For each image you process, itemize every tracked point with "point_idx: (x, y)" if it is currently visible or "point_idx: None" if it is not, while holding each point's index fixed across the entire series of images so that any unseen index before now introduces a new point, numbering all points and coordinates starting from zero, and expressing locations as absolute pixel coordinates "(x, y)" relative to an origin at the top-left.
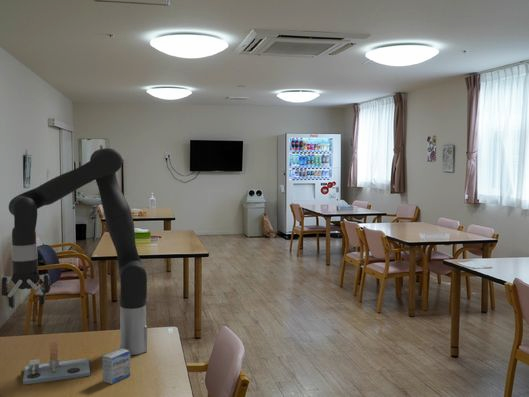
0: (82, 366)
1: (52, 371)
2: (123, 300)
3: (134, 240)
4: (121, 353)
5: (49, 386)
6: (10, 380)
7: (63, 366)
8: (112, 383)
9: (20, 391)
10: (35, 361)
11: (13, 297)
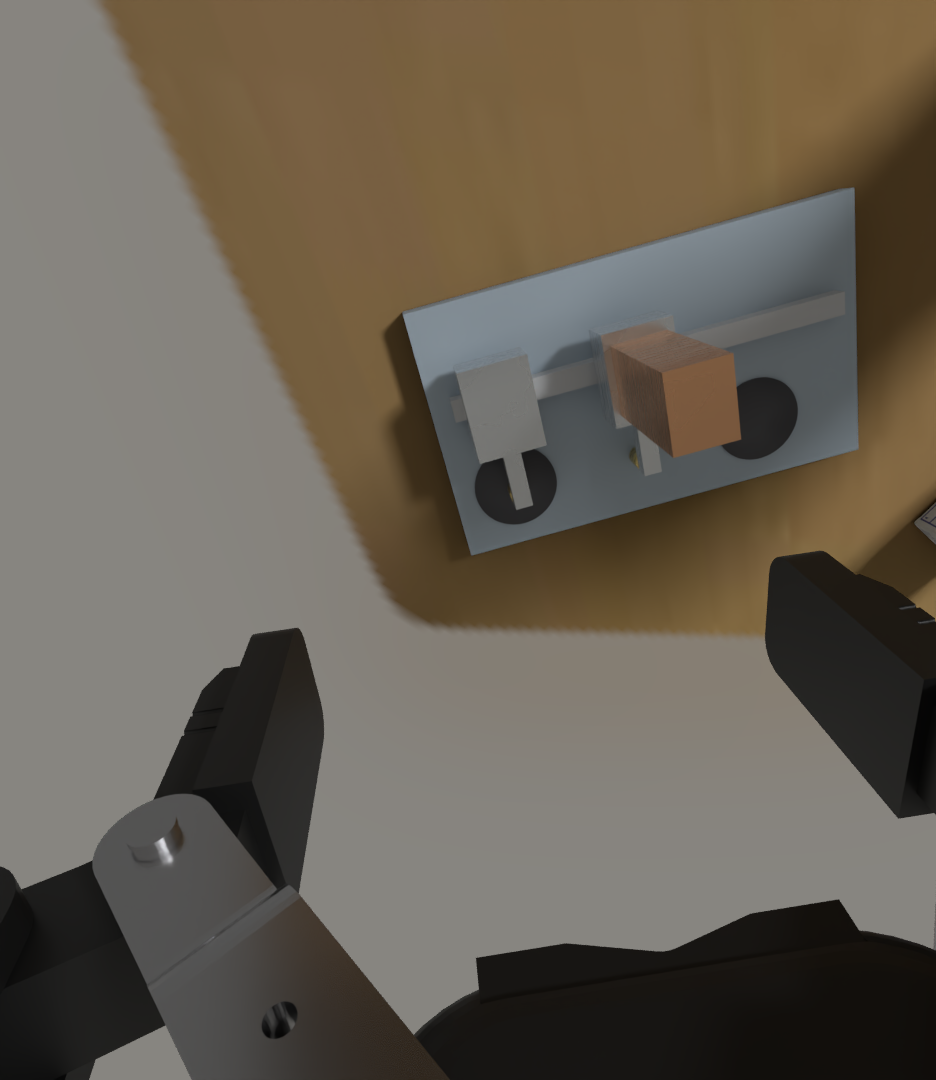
0: (811, 352)
1: (632, 462)
2: None
3: None
4: None
5: (625, 569)
6: (368, 483)
7: None
8: None
9: (483, 619)
10: (508, 400)
11: (282, 840)
